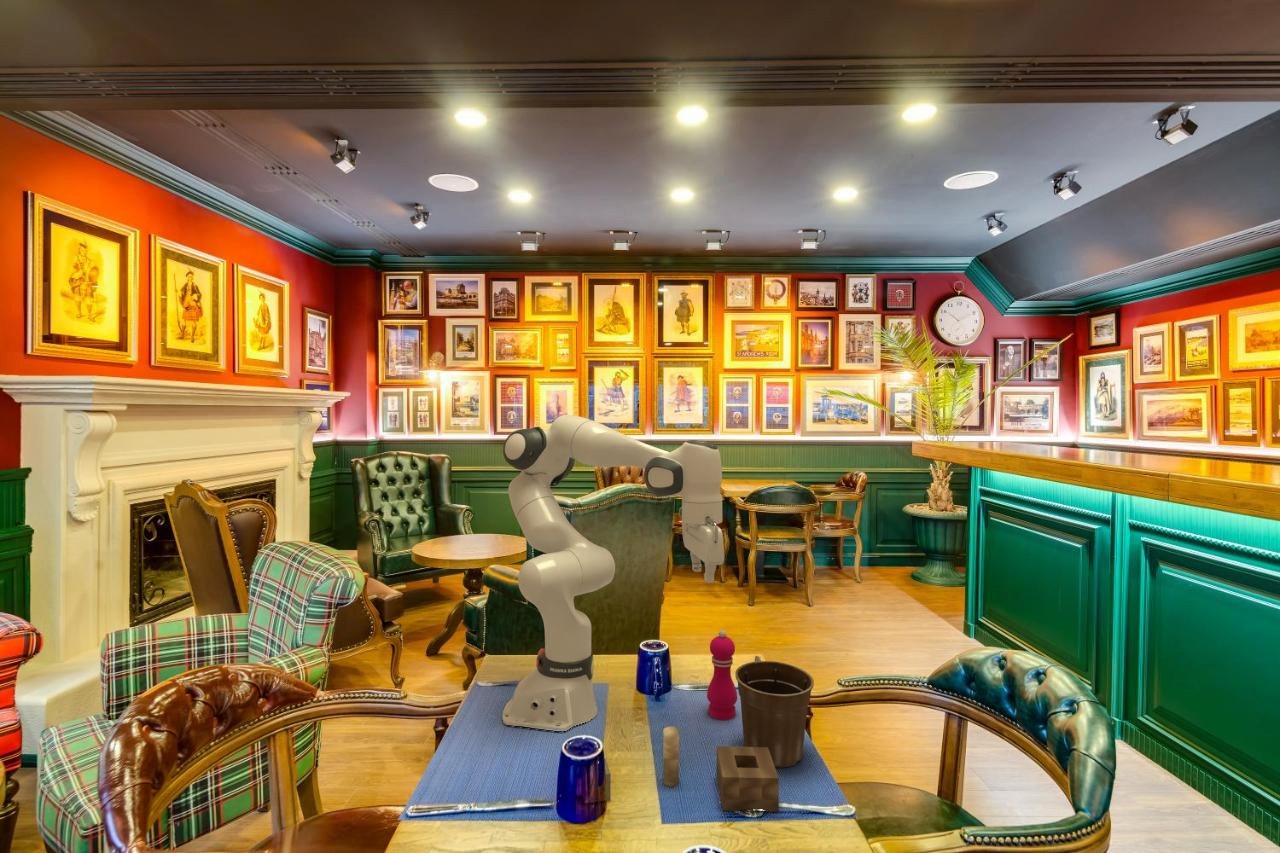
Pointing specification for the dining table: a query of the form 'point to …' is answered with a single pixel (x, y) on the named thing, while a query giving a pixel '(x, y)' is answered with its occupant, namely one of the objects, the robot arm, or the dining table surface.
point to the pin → (671, 756)
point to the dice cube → (608, 782)
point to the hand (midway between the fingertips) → (702, 576)
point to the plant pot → (774, 708)
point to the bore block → (747, 779)
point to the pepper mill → (722, 679)
